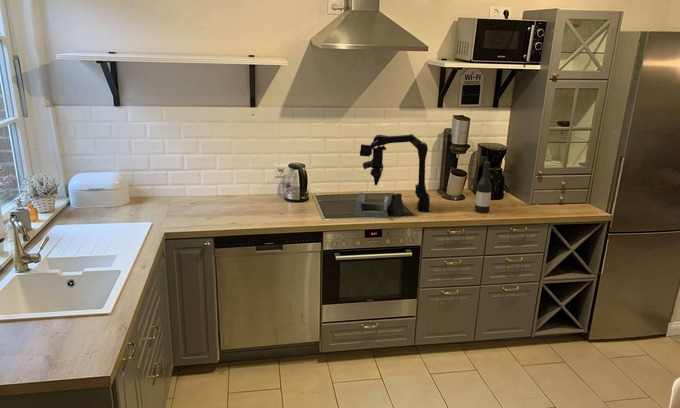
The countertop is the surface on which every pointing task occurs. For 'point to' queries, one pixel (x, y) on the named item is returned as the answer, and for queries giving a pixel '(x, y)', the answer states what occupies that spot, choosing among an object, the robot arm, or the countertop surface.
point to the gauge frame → (361, 205)
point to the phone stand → (396, 206)
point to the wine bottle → (483, 191)
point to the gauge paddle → (385, 204)
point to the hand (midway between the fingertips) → (376, 183)
